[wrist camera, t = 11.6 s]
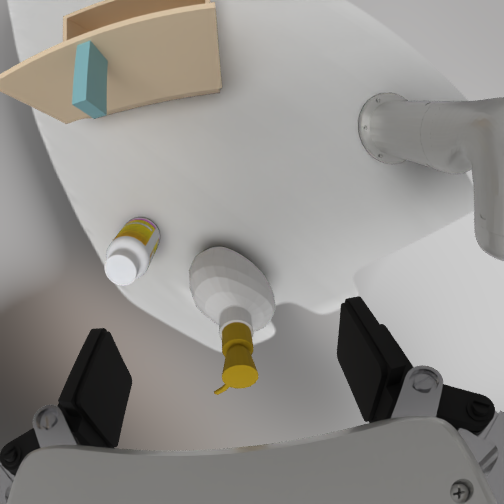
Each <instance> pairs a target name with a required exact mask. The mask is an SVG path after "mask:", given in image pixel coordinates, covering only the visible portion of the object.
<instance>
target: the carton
mask: <svg viewBox="0 0 504 504" xmlns="http://www.w3.org/2000/svg"><path fill="white" fill-rule="evenodd" d="M205 3H210V0H105V1H102V2H99V3H96V4H93V5H91V6H88V7H85V8H83V9H80V10H78V11H75V12H73V13H70V14H68V15H66V16H63V42H64V41H67V40H69V39H72V38H74V37H77V36H79V35H82V34H84V33H87V32H90V31H93V30H95V29H98V28H101V27H104V26H107V25H110V24H114V23H117V22H120V21H124V20H127V19H131V18H134V17H138V16H142V15H146V14H150V13H155V12H159V11H164V10H169V9H174V8H179V7H185V6H191V5H198V4H205ZM213 93H220V90H219V89H212V90H205V91H198V92H192V93H186V94H180V95H174V96H169V97H164V98H159V99H154V100H150V101H145V102H141V103H137V104H132V105H128V106H124V107H121V108H117V109H113V110H109V111H107V115H110V114H113V113H117V112H121V111H125V110H129V109H133V108H137V107H141V106H146V105H150V104H155V103H160V102H165V101H170V100H175V99H181V98H187V97H193V96H199V95H206V94H213ZM102 117H103V116H102ZM86 118H92V117H90V116H89V117H86ZM83 119H85V118H83Z"/></svg>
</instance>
